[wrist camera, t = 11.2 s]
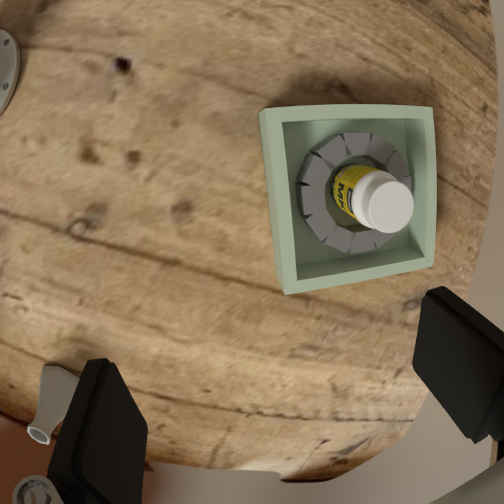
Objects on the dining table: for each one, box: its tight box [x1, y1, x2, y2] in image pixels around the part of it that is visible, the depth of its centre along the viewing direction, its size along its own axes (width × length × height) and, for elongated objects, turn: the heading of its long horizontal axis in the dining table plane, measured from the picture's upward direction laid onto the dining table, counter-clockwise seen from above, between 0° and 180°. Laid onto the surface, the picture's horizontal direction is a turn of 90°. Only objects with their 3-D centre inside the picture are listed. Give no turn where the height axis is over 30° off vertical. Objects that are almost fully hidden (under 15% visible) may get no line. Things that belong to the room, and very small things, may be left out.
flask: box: [27, 366, 80, 444], centre depth 31 cm, size 7×7×10 cm
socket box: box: [258, 104, 437, 295], centre depth 28 cm, size 16×16×4 cm
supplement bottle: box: [330, 163, 414, 233], centre depth 26 cm, size 5×5×8 cm
